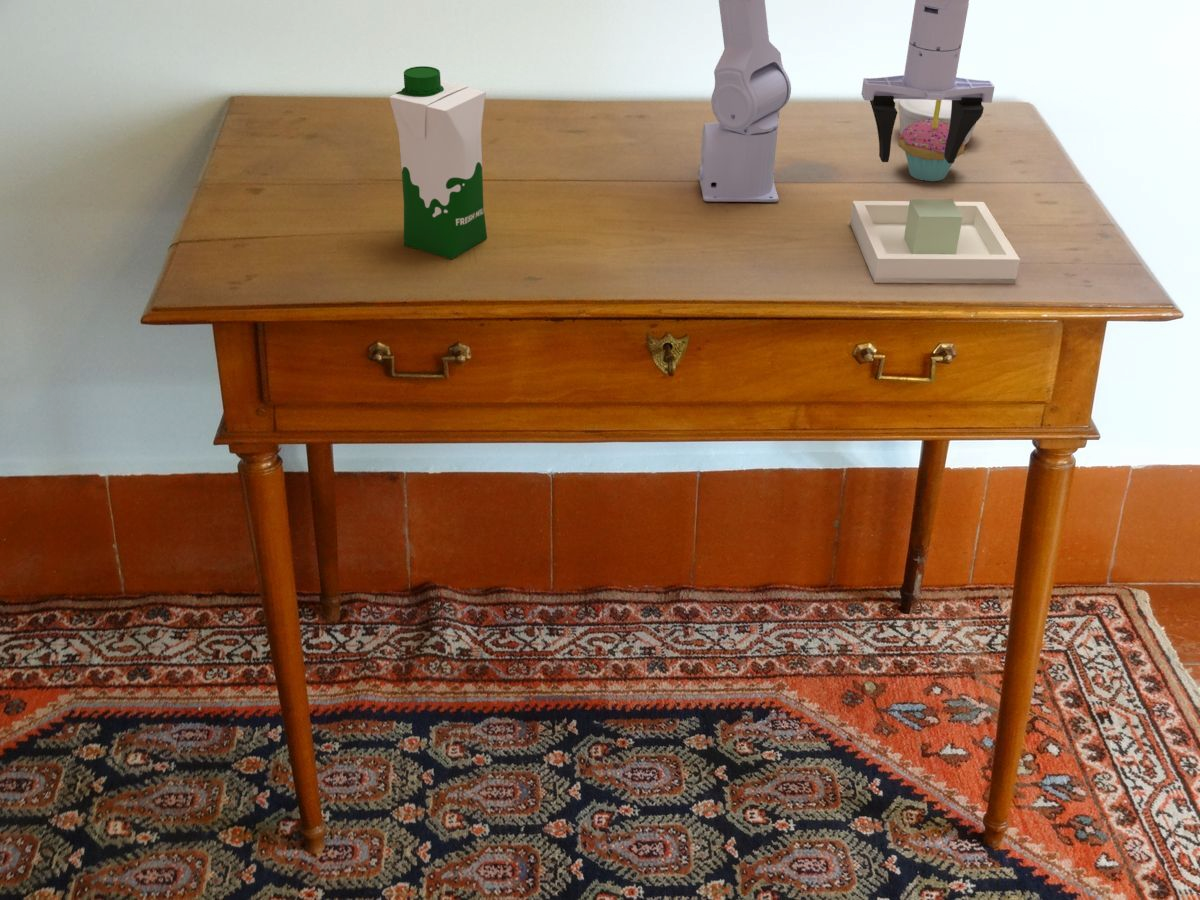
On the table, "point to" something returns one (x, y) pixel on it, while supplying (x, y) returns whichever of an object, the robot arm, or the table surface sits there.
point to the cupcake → (927, 147)
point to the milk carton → (440, 162)
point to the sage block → (932, 226)
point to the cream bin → (892, 262)
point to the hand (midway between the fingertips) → (916, 159)
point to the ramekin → (924, 112)
